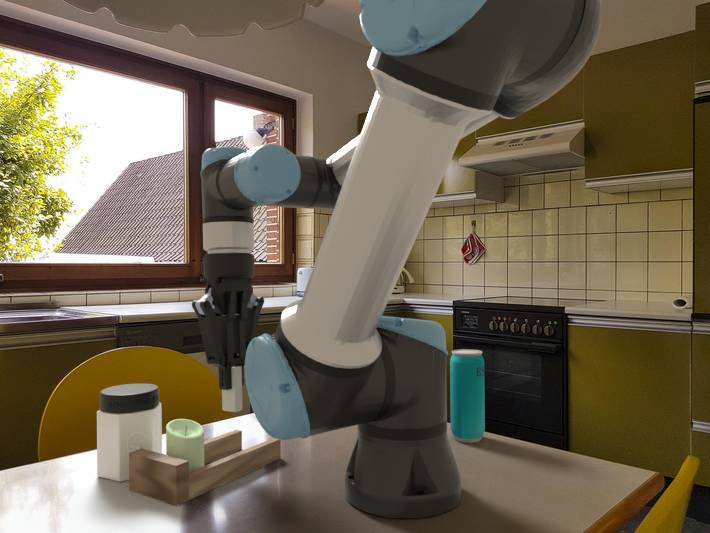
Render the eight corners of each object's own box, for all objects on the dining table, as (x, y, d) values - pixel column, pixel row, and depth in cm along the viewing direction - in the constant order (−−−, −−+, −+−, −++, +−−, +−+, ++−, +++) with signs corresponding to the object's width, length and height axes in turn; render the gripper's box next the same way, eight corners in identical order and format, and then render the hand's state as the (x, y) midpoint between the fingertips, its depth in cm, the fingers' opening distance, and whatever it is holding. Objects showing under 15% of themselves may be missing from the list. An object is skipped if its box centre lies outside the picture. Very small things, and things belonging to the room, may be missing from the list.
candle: (212, 478, 77) (211, 421, 77) (184, 492, 73) (183, 431, 73) (186, 471, 80) (186, 415, 80) (158, 484, 76) (158, 424, 75)
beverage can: (489, 437, 95) (488, 350, 95) (478, 446, 91) (477, 355, 91) (458, 432, 99) (457, 347, 99) (445, 440, 94) (444, 352, 94)
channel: (280, 458, 86) (280, 426, 86) (176, 505, 69) (176, 465, 69) (236, 447, 91) (236, 417, 91) (129, 490, 74) (129, 452, 74)
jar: (102, 486, 75) (101, 398, 75) (92, 468, 82) (92, 387, 82) (169, 472, 80) (168, 390, 80) (155, 456, 87) (154, 380, 87)
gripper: (241, 254, 91) (244, 399, 90) (177, 252, 80) (180, 417, 79) (276, 252, 87) (280, 403, 86) (214, 249, 76) (217, 423, 75)
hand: (232, 410), depth 83 cm, fingers closed
